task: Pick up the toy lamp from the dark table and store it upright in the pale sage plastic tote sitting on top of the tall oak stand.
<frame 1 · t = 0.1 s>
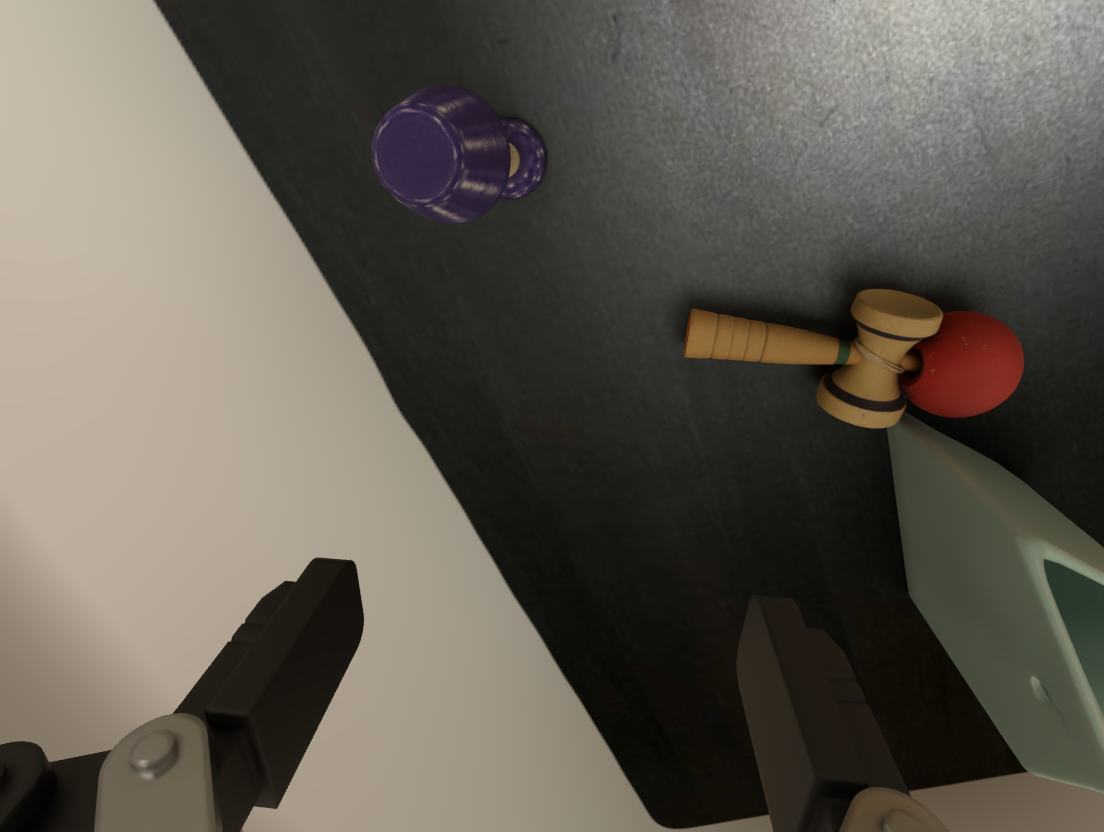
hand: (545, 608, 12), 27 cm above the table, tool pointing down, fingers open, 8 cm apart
kendama: (826, 339, 36), on the table
toy lamp: (508, 153, 33), on the table
planter: (956, 494, 39), on the table
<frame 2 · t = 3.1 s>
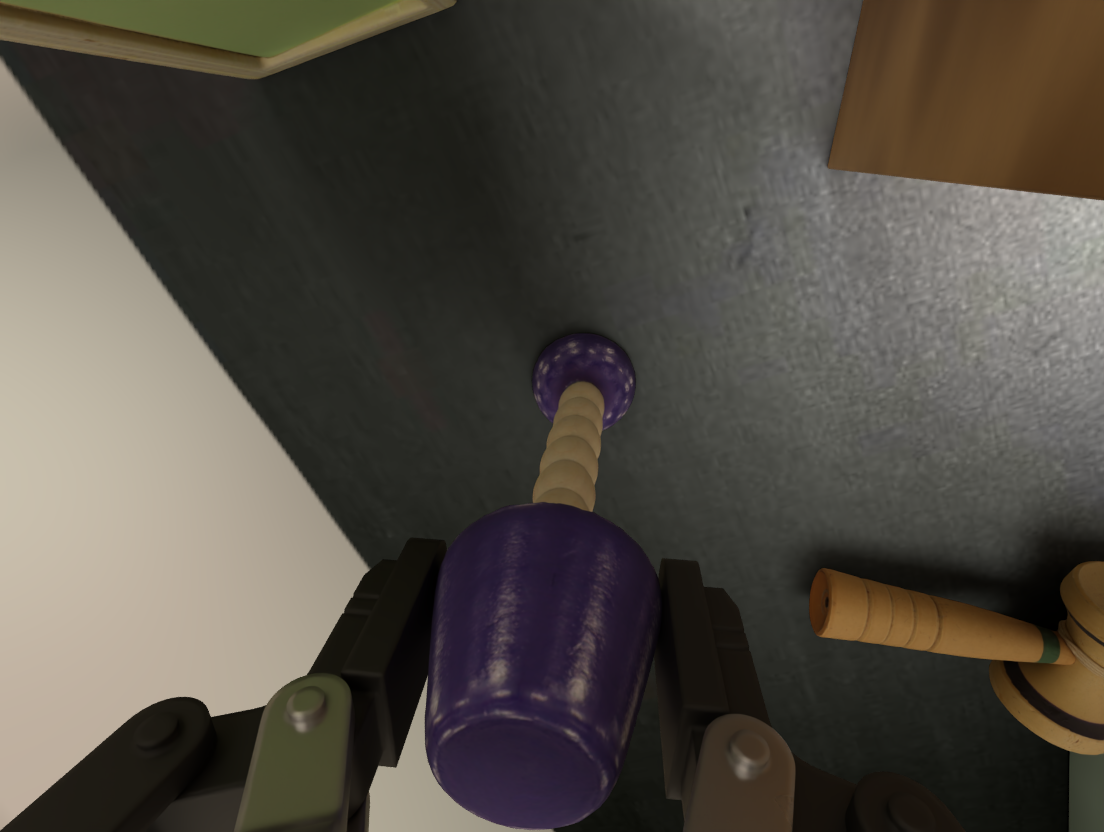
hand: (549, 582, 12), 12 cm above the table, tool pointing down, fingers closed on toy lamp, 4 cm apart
kendama: (1001, 599, 26), on the table
toy lamp: (579, 373, 24), on the table, touching gripper
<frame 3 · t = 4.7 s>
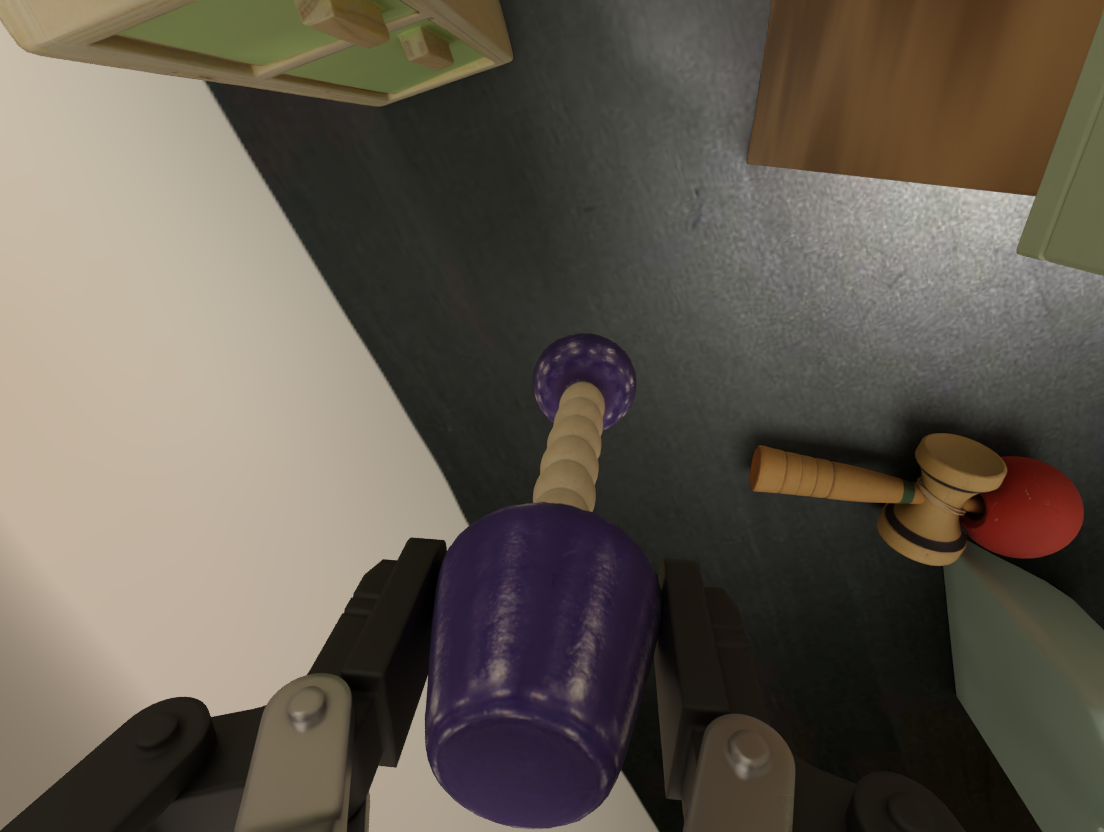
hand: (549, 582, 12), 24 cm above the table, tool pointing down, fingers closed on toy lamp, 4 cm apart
kendama: (885, 470, 37), on the table
toy lamp: (580, 373, 24), point 12 cm above the table, touching gripper
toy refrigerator: (426, 24, 29), on the table
planter: (1006, 607, 41), on the table
stand: (901, 5, 27), on the table
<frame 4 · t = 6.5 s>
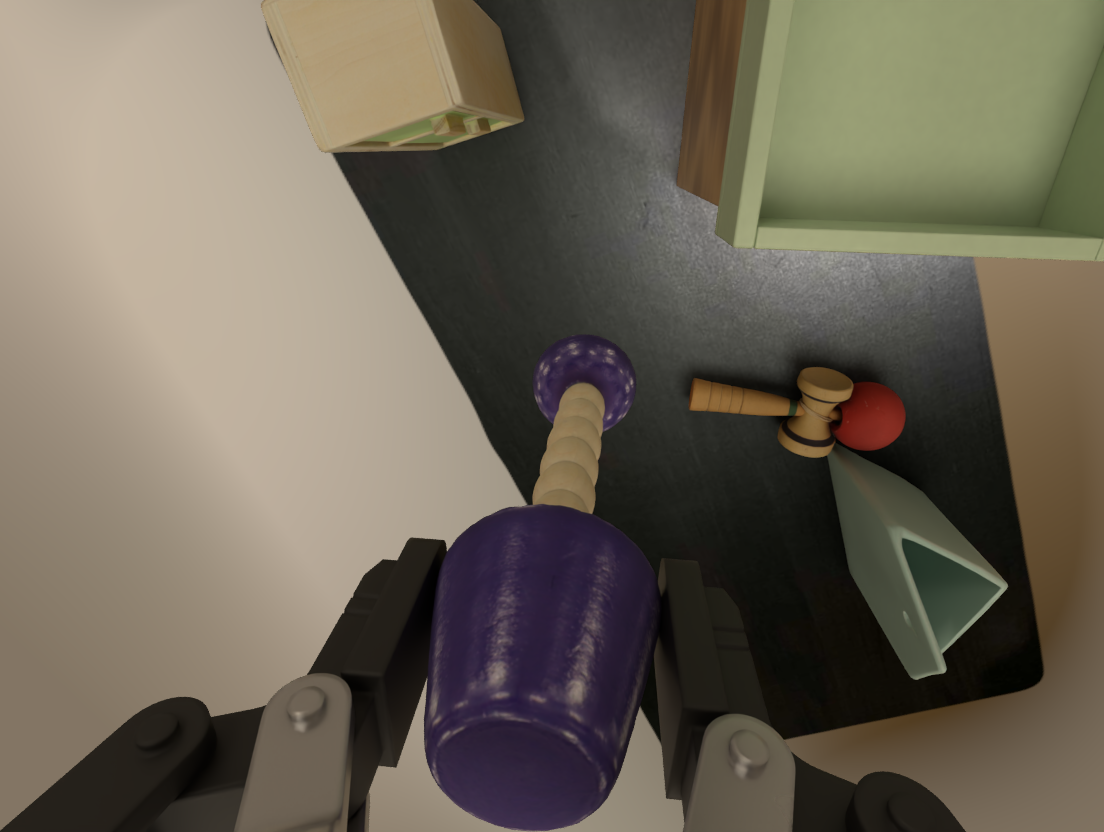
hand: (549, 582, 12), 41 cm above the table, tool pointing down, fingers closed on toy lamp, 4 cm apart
kendama: (784, 397, 53), on the table
toy lamp: (580, 374, 24), point 29 cm above the table, touching gripper
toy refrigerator: (468, 98, 45), on the table
planter: (878, 500, 57), on the table
stand: (767, 88, 43), on the table
tote: (928, 23, 21), resting on stand
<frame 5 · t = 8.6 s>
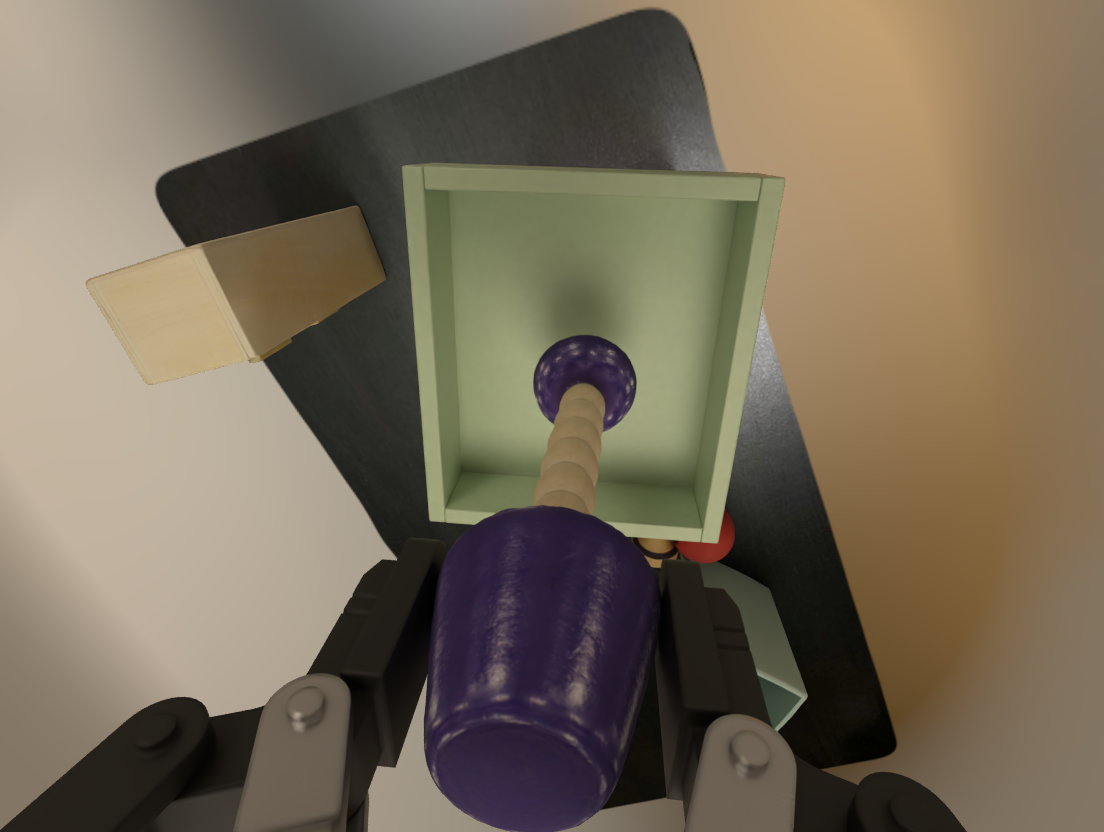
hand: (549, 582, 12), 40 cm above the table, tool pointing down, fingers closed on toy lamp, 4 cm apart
kendama: (638, 507, 59), on the table
toy lamp: (580, 374, 24), point 28 cm above the table, touching gripper
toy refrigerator: (336, 258, 51), on the table
planter: (732, 595, 63), on the table
tote: (583, 346, 27), resting on stand
when the fingers open (37 cm above the table, at t = 10.1 s): toy lamp stays where it is, resting on tote.
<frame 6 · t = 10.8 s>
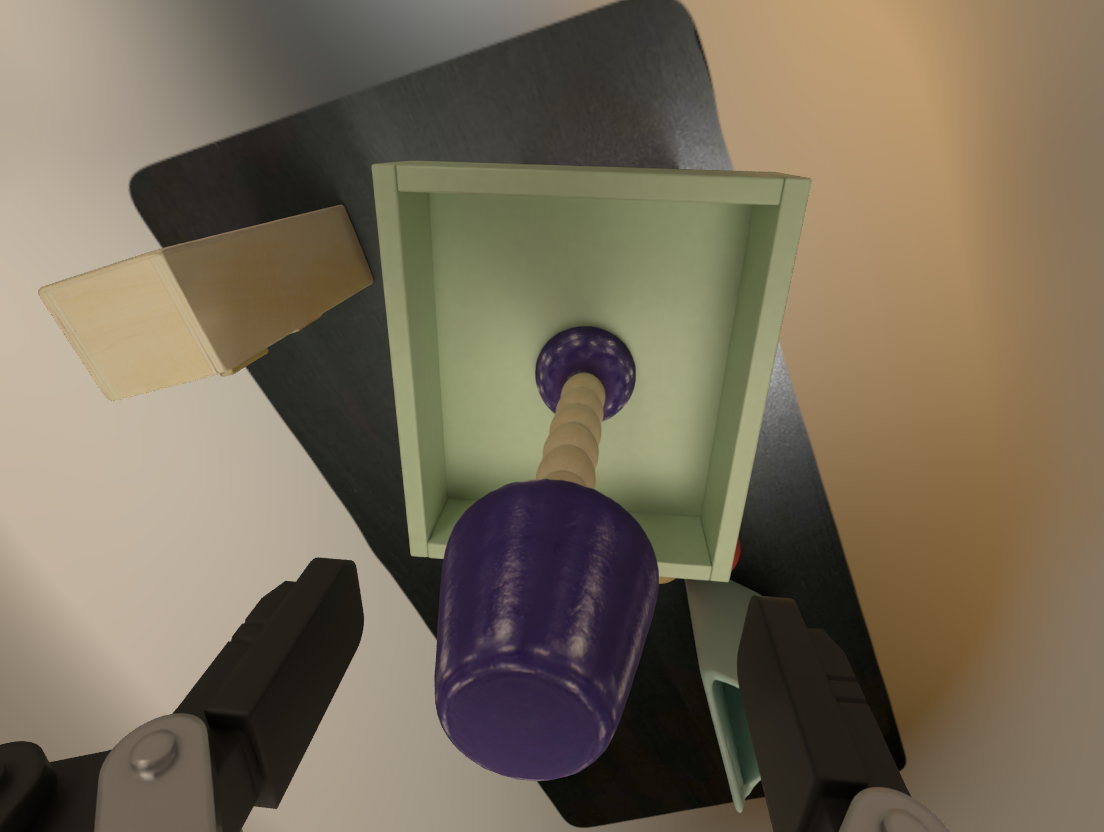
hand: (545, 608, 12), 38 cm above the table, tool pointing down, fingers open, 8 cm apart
toy lamp: (581, 365, 24), point 24 cm above the table, touching tote
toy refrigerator: (321, 260, 48), on the table
planter: (736, 609, 60), on the table
tote: (579, 363, 25), resting on stand
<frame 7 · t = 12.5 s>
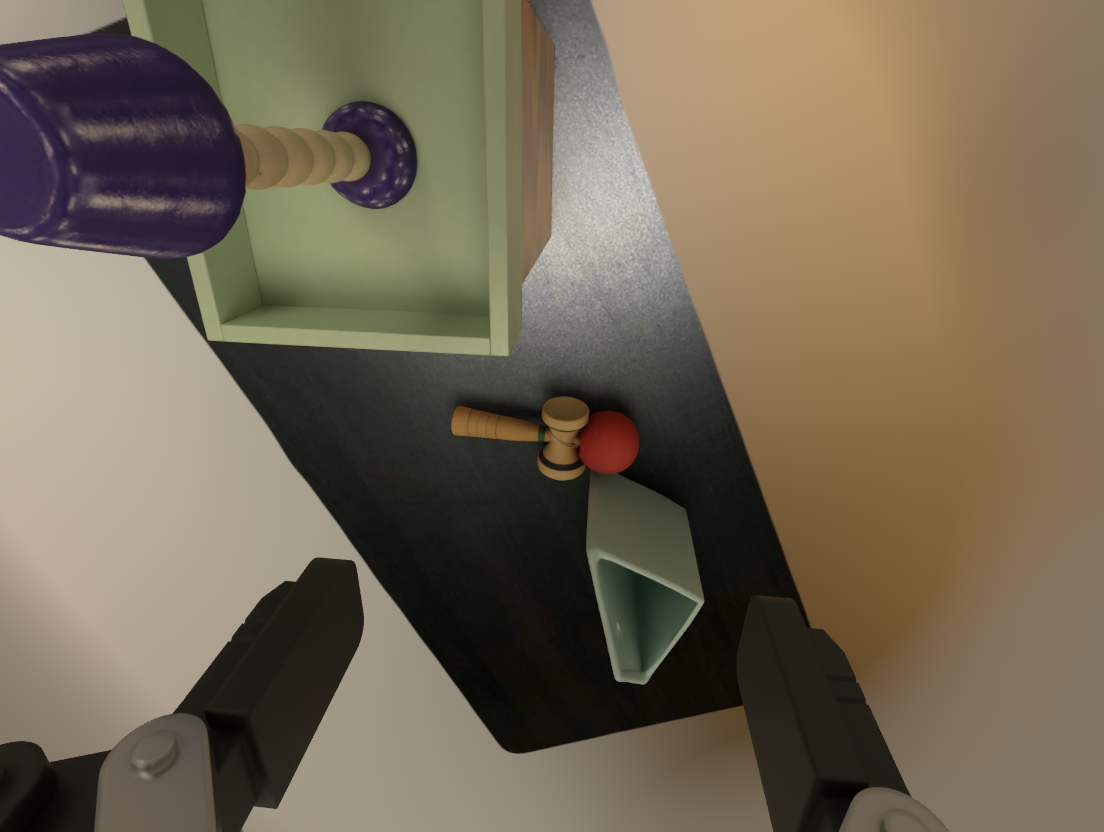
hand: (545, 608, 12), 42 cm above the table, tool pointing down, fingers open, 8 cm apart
kendama: (547, 422, 57), on the table
toy lamp: (367, 149, 25), point 24 cm above the table, touching tote
planter: (648, 516, 61), on the table
stand: (479, 146, 47), on the table
tote: (369, 151, 25), resting on stand
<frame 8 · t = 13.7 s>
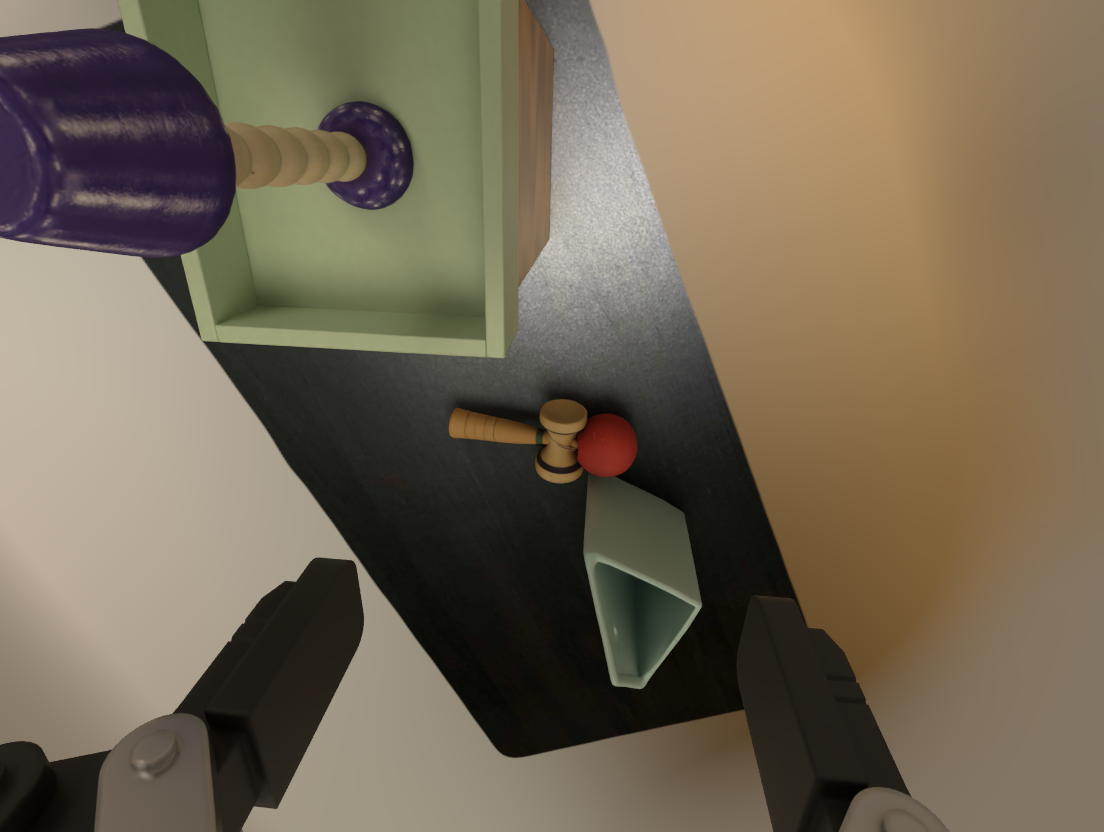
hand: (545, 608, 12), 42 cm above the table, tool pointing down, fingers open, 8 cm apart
kendama: (545, 425, 57), on the table
toy lamp: (363, 149, 25), point 24 cm above the table, touching tote
planter: (646, 520, 61), on the table
stand: (478, 148, 47), on the table
tote: (365, 151, 25), resting on stand
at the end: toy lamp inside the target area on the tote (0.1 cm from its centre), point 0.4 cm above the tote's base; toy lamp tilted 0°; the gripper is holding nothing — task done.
